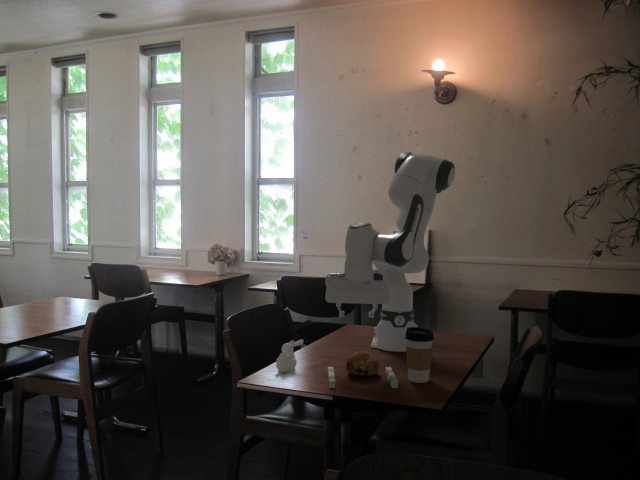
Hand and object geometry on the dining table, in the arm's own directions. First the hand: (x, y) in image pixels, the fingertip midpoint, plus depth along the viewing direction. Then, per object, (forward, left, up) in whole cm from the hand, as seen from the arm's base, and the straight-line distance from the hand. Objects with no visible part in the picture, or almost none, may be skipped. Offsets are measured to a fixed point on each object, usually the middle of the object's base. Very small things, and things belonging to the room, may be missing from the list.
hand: (356, 317), depth 183 cm
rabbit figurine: (+5, -21, -16) cm, 27 cm away
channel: (+16, 0, -16) cm, 22 cm away
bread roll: (+11, 0, -16) cm, 20 cm away
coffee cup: (+15, +17, -16) cm, 28 cm away
